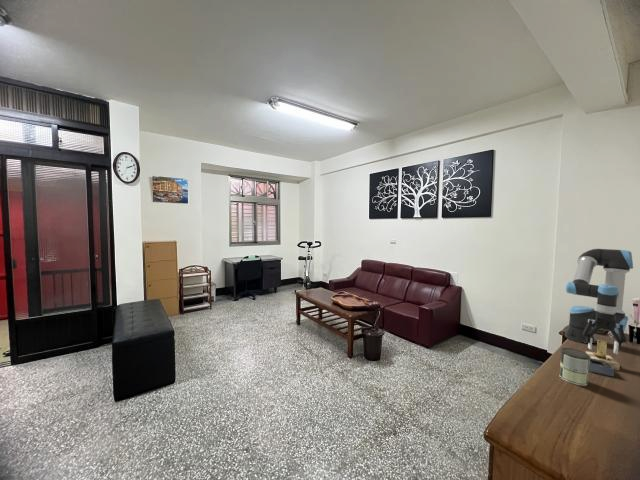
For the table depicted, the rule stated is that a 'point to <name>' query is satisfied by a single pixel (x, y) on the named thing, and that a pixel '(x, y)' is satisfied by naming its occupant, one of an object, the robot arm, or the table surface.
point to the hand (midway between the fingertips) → (602, 350)
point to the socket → (600, 367)
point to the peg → (601, 349)
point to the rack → (608, 359)
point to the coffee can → (574, 366)
